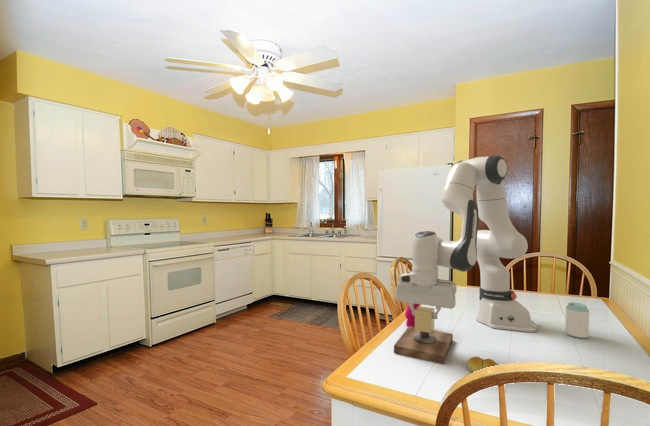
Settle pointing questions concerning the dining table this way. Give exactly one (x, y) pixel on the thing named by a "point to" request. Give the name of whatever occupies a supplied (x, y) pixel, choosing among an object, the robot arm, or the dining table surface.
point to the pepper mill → (410, 316)
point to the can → (577, 320)
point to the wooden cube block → (424, 319)
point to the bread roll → (479, 363)
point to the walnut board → (424, 345)
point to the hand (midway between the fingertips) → (424, 316)
